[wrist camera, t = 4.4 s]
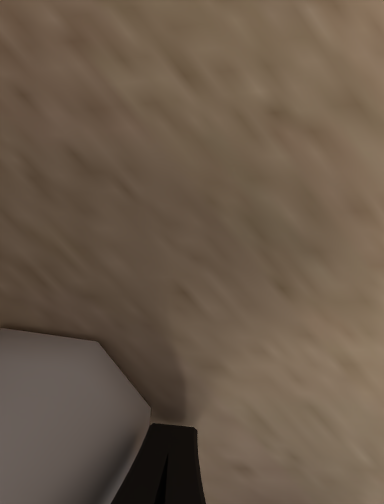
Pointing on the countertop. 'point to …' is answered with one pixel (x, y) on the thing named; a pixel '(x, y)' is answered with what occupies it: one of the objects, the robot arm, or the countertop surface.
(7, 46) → the countertop surface
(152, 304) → the countertop surface
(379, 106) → the countertop surface
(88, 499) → the flask
